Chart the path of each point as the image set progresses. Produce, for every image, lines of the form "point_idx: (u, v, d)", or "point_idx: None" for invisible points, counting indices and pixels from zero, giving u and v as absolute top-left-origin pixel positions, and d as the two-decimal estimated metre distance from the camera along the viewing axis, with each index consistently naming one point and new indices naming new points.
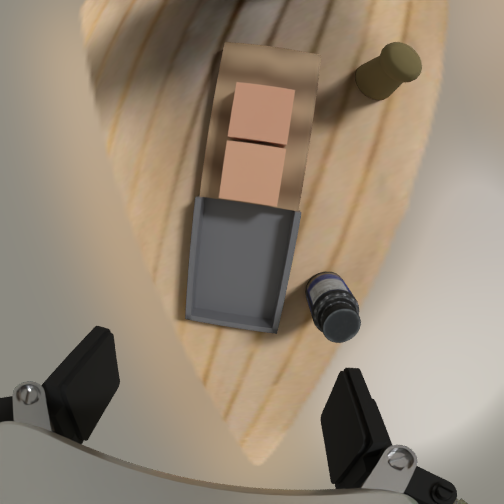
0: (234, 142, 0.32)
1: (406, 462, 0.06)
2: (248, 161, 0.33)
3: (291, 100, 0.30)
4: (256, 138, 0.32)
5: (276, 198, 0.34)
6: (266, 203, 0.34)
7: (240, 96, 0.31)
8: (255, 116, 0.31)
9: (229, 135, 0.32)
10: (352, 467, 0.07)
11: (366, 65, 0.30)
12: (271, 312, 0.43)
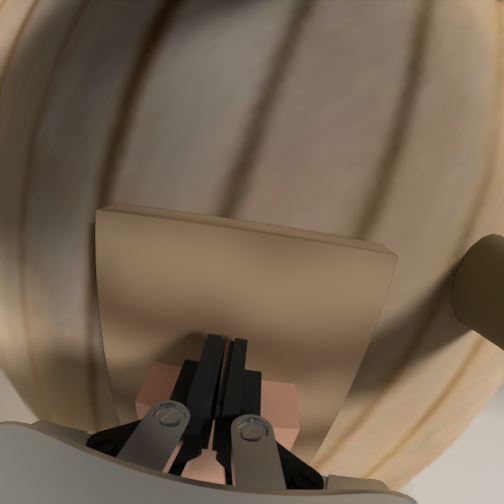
0: None
1: (260, 430, 0.07)
2: None
3: (286, 446, 0.11)
4: None
5: None
6: None
7: None
8: (197, 463, 0.11)
9: None
10: None
11: (499, 288, 0.10)
12: None
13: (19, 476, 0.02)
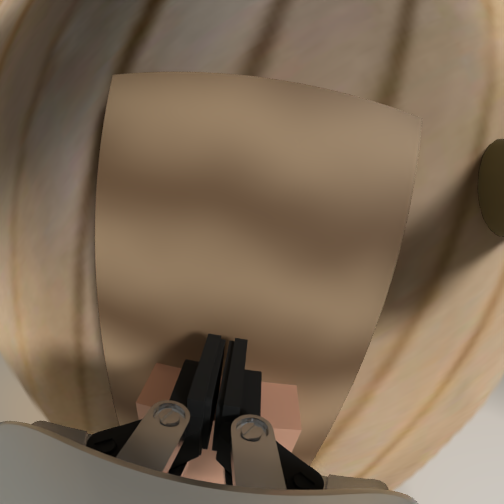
0: None
1: (260, 430, 0.07)
2: None
3: (288, 447, 0.11)
4: None
5: None
6: None
7: None
8: (198, 464, 0.11)
9: None
10: None
11: None
12: None
13: (19, 476, 0.02)
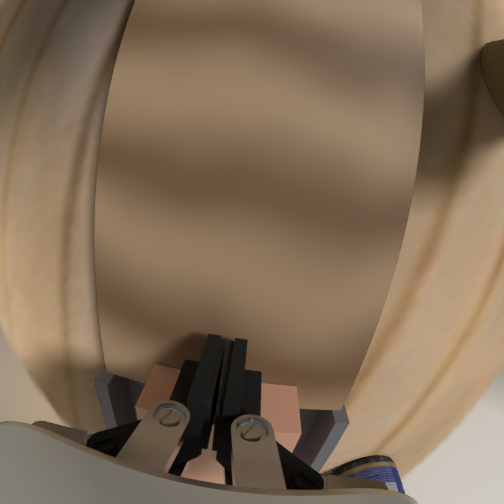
0: None
1: (260, 429, 0.07)
2: None
3: None
4: None
5: None
6: None
7: None
8: (198, 465, 0.11)
9: None
10: None
11: None
12: None
13: (19, 476, 0.02)
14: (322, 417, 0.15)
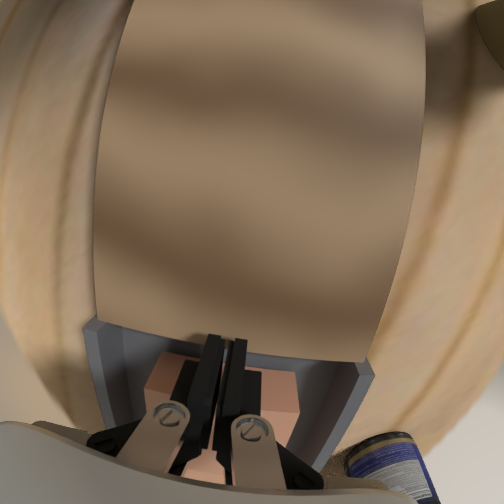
0: None
1: (260, 430, 0.07)
2: None
3: (287, 431, 0.12)
4: (210, 472, 0.13)
5: None
6: None
7: None
8: (202, 449, 0.12)
9: None
10: None
11: None
12: None
13: (19, 476, 0.02)
14: (341, 375, 0.14)
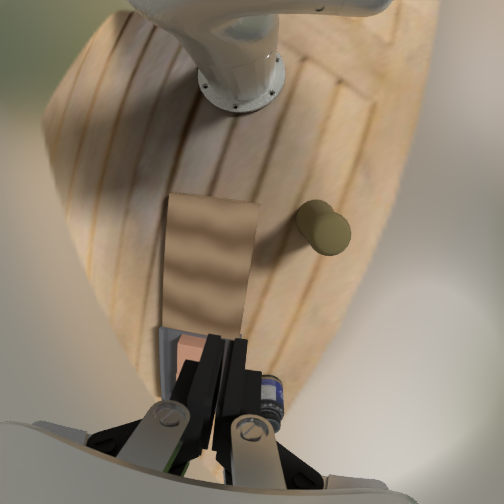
0: None
1: (260, 430, 0.07)
2: None
3: None
4: None
5: None
6: None
7: (181, 353, 0.46)
8: None
9: (178, 373, 0.47)
10: None
11: (303, 216, 0.39)
12: None
13: (19, 476, 0.02)
14: None
